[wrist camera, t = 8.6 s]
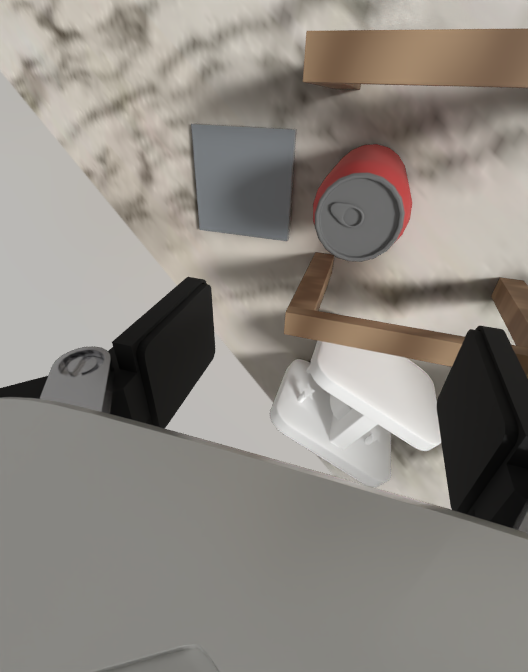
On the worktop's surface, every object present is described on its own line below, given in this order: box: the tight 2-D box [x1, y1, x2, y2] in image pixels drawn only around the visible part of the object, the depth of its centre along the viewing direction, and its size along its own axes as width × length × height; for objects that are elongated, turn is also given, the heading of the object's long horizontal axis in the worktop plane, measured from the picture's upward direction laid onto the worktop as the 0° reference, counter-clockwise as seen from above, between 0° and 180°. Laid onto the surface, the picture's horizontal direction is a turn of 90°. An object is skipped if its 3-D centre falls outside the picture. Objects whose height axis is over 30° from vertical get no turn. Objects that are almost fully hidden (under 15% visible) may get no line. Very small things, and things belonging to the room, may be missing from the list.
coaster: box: [191, 124, 296, 241], centre depth 34 cm, size 10×10×1 cm
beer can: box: [313, 144, 412, 262], centre depth 27 cm, size 7×7×12 cm
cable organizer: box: [270, 340, 441, 487], centre depth 38 cm, size 15×11×12 cm
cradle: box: [284, 29, 528, 376], centre depth 25 cm, size 20×18×13 cm
